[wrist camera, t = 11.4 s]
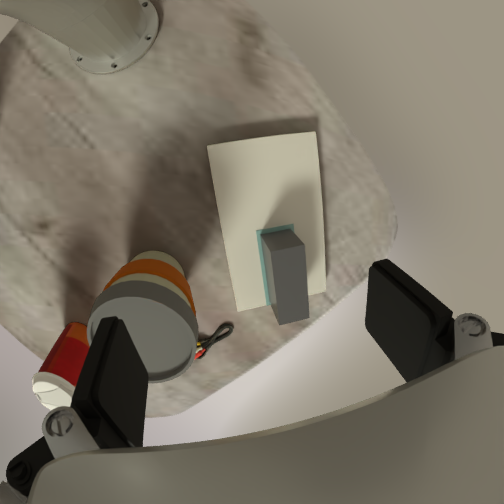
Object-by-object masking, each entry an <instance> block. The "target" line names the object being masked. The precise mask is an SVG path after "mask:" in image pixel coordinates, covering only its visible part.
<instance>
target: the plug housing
mask: <svg viewBox="0 0 504 504" xmlns="http://www.w3.org/2000/svg"><path fill="white" fill-rule="evenodd" d="M260 237H261V245H262V252H263V259H264V266H265V273H266V280H267V287H268V295H269V302H270V304H271V307H272V309H273V311H274V314H275V316H276V319H277V321H278V323H279V325H283V324H287V323H291V322H295V321H299V320H303V319H307V318H309V302H308V284H307V268H306V253H305V244H304V243H303V242H302V241H301V240H300V239H299V238H298V237H297V235H296V234H295V233H294V232H293V231H292V230H291V229H286V230H280V231H275V232H270V233H265V234H260Z"/></svg>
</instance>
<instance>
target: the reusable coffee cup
mask: <svg viewBox="0 0 504 504" xmlns="http://www.w3.org/2000/svg"><path fill="white" fill-rule="evenodd" d="M112 316H117V317H118V319H122V320H123V321H124V323H125V325H126V328H127V330H128V332H129V334H130V336H131V339H132V341H133V343H134V345H135V347H136V349H137V351H138V353H139V355H140V357H141V359H142V361H143V363H144V365H145V367H146V369H147V372H148V376H149V381H148V383H161V382H165V381H169V380H172V379H174V378H176V377H178V376H180V375H181V374H183V373H184V372H185V371H186V370H187V369H188V368H189V367H190V366H191V364H192V362H193V360H194V359H195V354H196V350H197V342H198V323H197V320H196V311H195V307H194V303H193V298H192V294H191V290H190V286H189V284H188V282H187V280H186V279H185V276H184V272H183V269H182V267H181V265H180V264H179V263H178V261H176V260H175V259H174V258H173V257H172V256H170V255H168V254H166V253H164V252H160V251H146V252H143V253H140V254H138V255H137V256H135V257H134V258H133V259H132V260H131V261H130V262H129V263H127V264H126V265H125V266H123V267H122V268H121V269H120V270H119V271H118V272H117V273H116V274H115V276H114V277H113V278H112V279H111V280H110V281H109V283H108V284H107V285H106V286H105V288H104V290H103V292H102V293H101V294H100V295H99V296H98V297H97V299H96V301H95V303H94V305H93V307H92V311H91V314H90V317H89V321H88V326H87V339H88V343H89V346H90V345H91V343H92V340H93V338H94V335H95V333H96V330H97V328H98V325H99V323H100V320H101V319H102V318H105V317H112Z"/></svg>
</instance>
